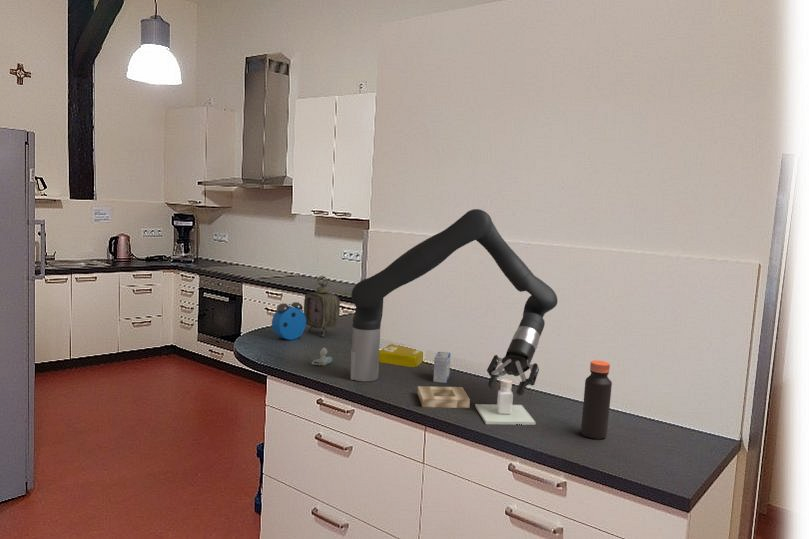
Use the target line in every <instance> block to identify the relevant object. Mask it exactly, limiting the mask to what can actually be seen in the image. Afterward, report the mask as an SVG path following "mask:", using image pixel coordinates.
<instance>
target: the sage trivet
mask: <svg viewBox="0 0 809 539" xmlns="http://www.w3.org/2000/svg"><path fill="white" fill-rule="evenodd" d="M475 409H476V410H477V412H478V413H479V415H480V417H481V419H482V420H483V422H484V423H485V425H512V426H513V425H514V426H515V425H516V424H518V426H519V424H520V425H521V424H522V425H523V426H524V425H525V426H528V425H530V426H531V425H532V426H533V425H534V426H535V425H536V424H537V423H536V421H535V420H534V418H533V417H532V416H531V414H530V413H529V412H528V411H527V410H526V409H525V407H524V405H522V404H512V413H511V414H499V413H498V411H497V404H486V403H485V404H483V403H482V404H481V403H480V404H479V403H478V404H477V403H475ZM522 425H521V426H522ZM516 426H517V425H516Z"/></svg>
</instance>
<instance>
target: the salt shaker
mask: <svg viewBox="0 0 809 539" xmlns="http://www.w3.org/2000/svg"><path fill="white" fill-rule="evenodd" d="M499 384H500V389H498V390H497V401H496V405H497V411H498V413H499V414H511V413H512V405H514V404H513V400H514V392H513V390H512V386H513V380H512V379H509V378H502V379H501V380H500V383H499Z"/></svg>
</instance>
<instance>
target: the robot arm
mask: <svg viewBox="0 0 809 539" xmlns="http://www.w3.org/2000/svg"><path fill="white" fill-rule="evenodd" d="M473 241H474V242H475V241H476V242H478V243H479V244H480V245H481V246H482V247H483V248H484V249H485V250H486V251H487V252H488V254H489V255H490V256H491V257H492V259H493V260H494V262H495V263H496V265H497V266H498V267H499V270H501V272H502V273H503V274H504V276H505V277H506V278H507V280H508V281H509V282H510V283H511V284H512V286H513V287H514V288H515V289H516V290H517V291H518V292H520V293H521V292H527V293H529V294H530V296H529V297H527V300H526V302H525V303H524V308H523V312H522V318H521V320H520V323H519V325H518V327H517V329H516V331H515V332H514V334H513V336H512V339H511V341H510V343H509V345H508V348H507V350H506V354H505V355H504V357H499V356H498V354H495V355H494V356H493V358H492V359H491V360H490V363H489V365H488V367H487V369H486V371H487V374H488V375H489V376H490V378H489V380H488V383H487V385H488V388H489V389H490V390H491V391H493V390H494V388H495V386H496V384H497V382H498V379H499V378H501V377H503V376H505V375H508V376H514V377H519V376H520V379H521V381H519V384H518V385H517V386H518V387H517V388H516V391H515V394H516V396H517V397H521V396H522V395H524V393H525V391H526V387H527V386H535V384H536V381H537V378H538V374H539V372H540V367H539V366H538V363H533V364H532V360H533V357H534V355H535V353H536V351H537V349H538V345H539V343H540V338H541V336H542V334H543V330H544V328H545V319H544V317H545V314H547V313H549V312H550V311H551V310H553V309H554V308H555V307H557V304H558V296H557V294H556V292H555V290H554V289H553V288H552V287H551V286H549V285H548V284H547V283H546V282H544V281H543V280H541V278H539V277H537V276H536V275H535V274H534V273H533V272H532V271H531V269H529V267H528V266H527V265H526V263H525V262H524V261H523V260H522V259H521V258H520V256H518V254H517V253H516V252H515V251H514V250H513V249H512V248H511V246H509V244H508V243H507V242H506V241H505V239H504V238H503V236H502V235H501V234H500V233H499V231H498V229H497V228H496V225H495V224H494V221H492V217H491V216H490V214H489V213H487V212H486V211H485V210H482V209H478V208H476V209H473V208H472V209H470V210H468V211H467V212H466V213H464V214H463V215H462V216H461V217H459V218H458V219H457V220H456V221H454V222H453V223H452V224H451V225H450V226H448V227H446V228H445V229H443V230H442V231H440V232H438V233H436V234H433V235H432V236H430V237H429V238H426V239H425V240H423V241H421V242H419V243H418V244H416V245H414V246H413V247H411V248H410V249H408V250H407V251H405V252H404V253H403V254H401V255H400V256H399V257H397V258H396V259H395V260H394V261H392V262H391V263H390V264H389V265H388V266H386V267H385V268H384V269H382V270H381V271H379V272H377V273H376V274H374V275H372V276H370V277H368V278H364V279H361V280H360V281H358V282H356V284H354V286H353V288H352V290H351V301H352V303H353V304H354V305H355V309H354V310H355V312H354V316H353V318H352V329H351V330H352V334H351V352H350V380H351V381H357V382H374V381H376V380H378V379H379V372H380V371H379V365H380V362H379V351H380V346H381V344H380V343H381V326H382V319H383V311H384V298H385V297H387V296H388V295H389V294H391V293H392V292H393V291H395V290H397V289H399V288H400V287H402V286H405V285H407V284H409V283H411V282H413V281H415V280H417V279H419V278H420V277H422V276H425V275H426V274H427V273H429V272H431V271H432V270H433V269H435V268H436V267H438V266H439V265H441V263H443V262H445V260H446V259H447V258H448V257H450V256H451V255H452V254H453V253H455V252H456V251H457V250H459V249H460V248H462V247H464V246H466V245H468V244H470V243H472V242H473ZM501 363H502V364H501ZM529 370H530V373H529V376H528V377H526V375H525V373H526V372H527V371H529Z"/></svg>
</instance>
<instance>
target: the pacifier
mask: <svg viewBox="0 0 809 539" xmlns="http://www.w3.org/2000/svg"><path fill="white" fill-rule="evenodd" d="M327 354H328V350H327V347H323V348H321V350H320V352H319V356H320V358H318V359H313V361H311V365H314V366H320V365H322V366H326V365H327V364H329V363H331V362H332V361H333V357H332V356H327Z"/></svg>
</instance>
